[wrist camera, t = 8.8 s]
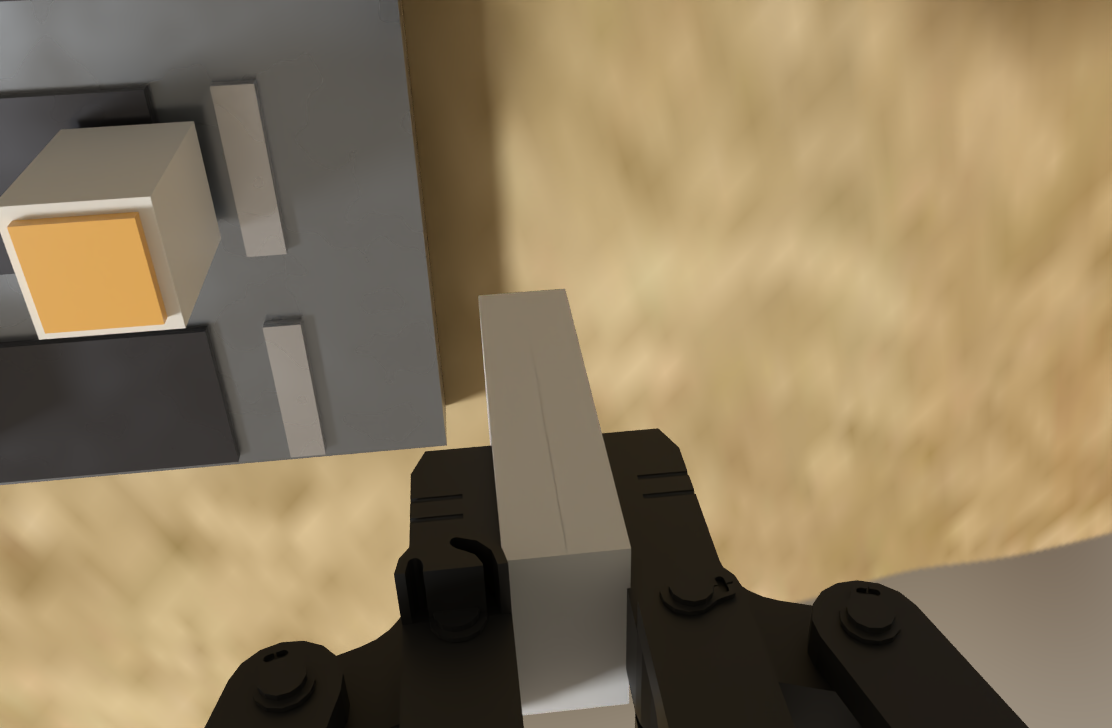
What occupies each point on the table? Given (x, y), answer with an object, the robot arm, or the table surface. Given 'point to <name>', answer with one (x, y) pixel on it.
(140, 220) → the block
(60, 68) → the panel
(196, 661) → the table surface
